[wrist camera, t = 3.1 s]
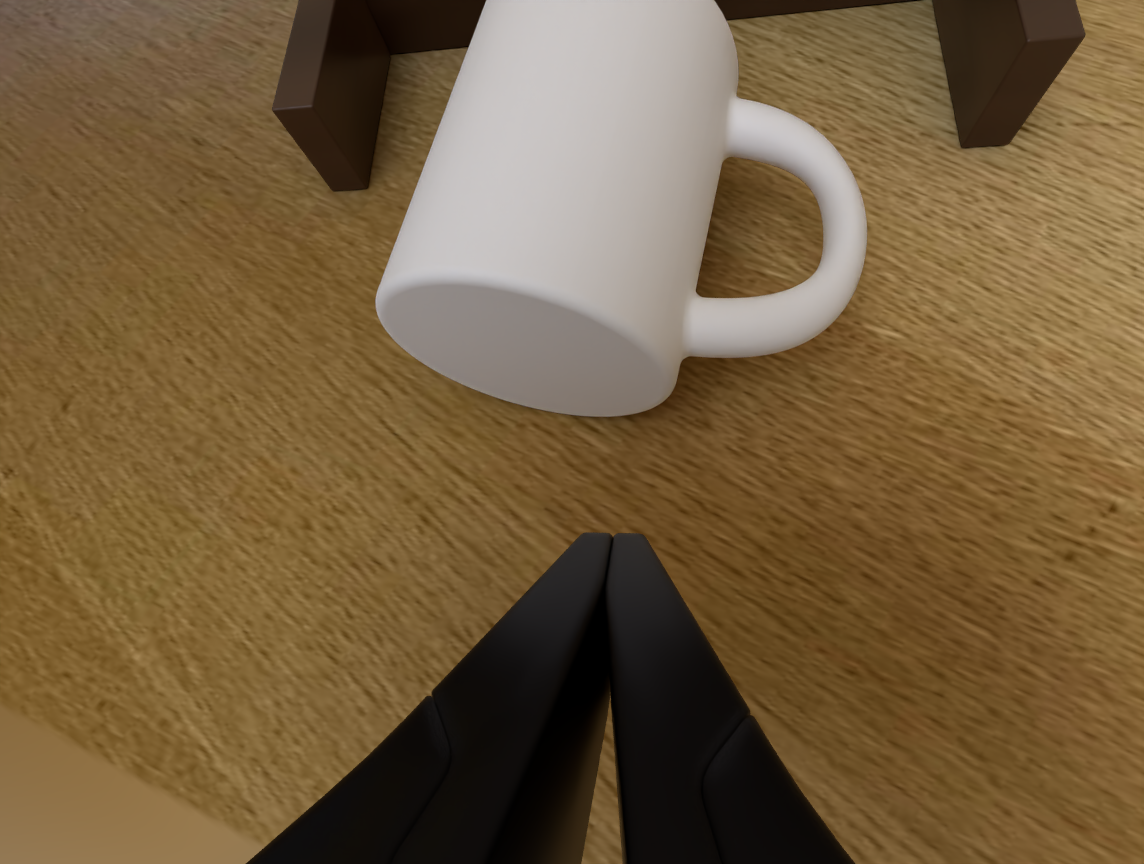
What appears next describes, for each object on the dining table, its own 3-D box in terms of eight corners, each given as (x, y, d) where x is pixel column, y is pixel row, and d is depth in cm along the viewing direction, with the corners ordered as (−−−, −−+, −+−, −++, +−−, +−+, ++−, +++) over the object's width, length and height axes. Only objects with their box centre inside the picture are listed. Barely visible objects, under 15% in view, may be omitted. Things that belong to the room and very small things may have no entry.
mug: (438, 393, 20) (308, 254, 13) (515, 155, 23) (445, -73, 16) (806, 462, 18) (909, 340, 10) (844, 187, 21) (948, -65, 13)
